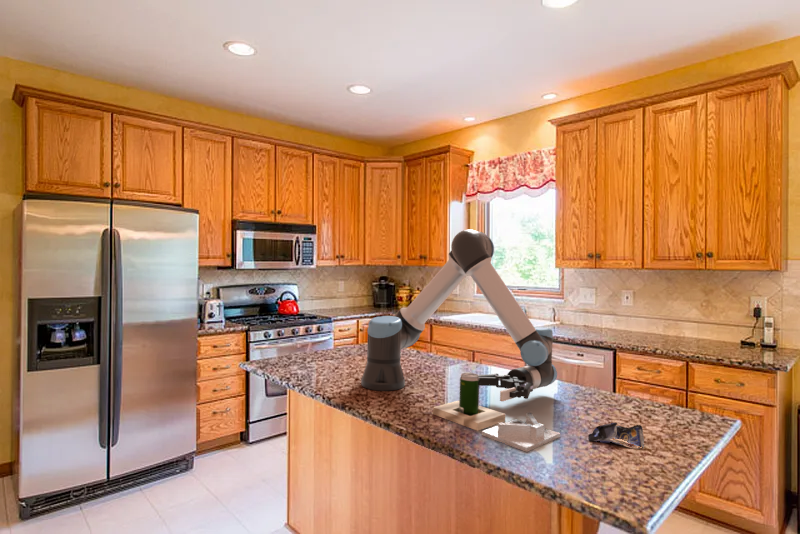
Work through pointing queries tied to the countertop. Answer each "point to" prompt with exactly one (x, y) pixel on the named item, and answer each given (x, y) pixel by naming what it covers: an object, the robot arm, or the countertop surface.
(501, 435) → the v block
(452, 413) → the beige rectangular frame
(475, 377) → the green soda can
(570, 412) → the countertop surface
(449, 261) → the robot arm
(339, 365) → the countertop surface
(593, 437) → the snack package
